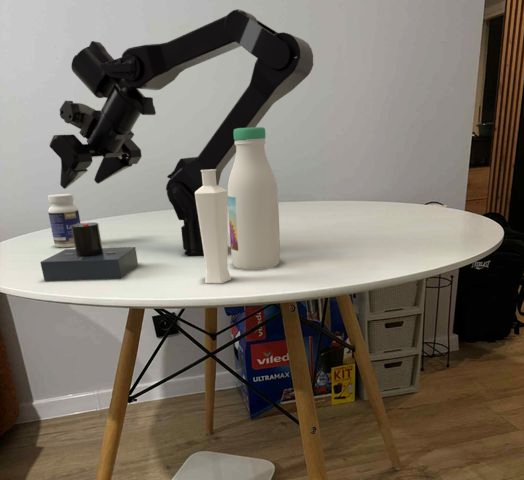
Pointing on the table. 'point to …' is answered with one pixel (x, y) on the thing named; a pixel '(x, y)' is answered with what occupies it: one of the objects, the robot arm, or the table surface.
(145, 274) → the table surface
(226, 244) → the perfume bottle
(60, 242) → the pill bottle
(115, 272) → the block
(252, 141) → the milk bottle
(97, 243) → the clamp knob
